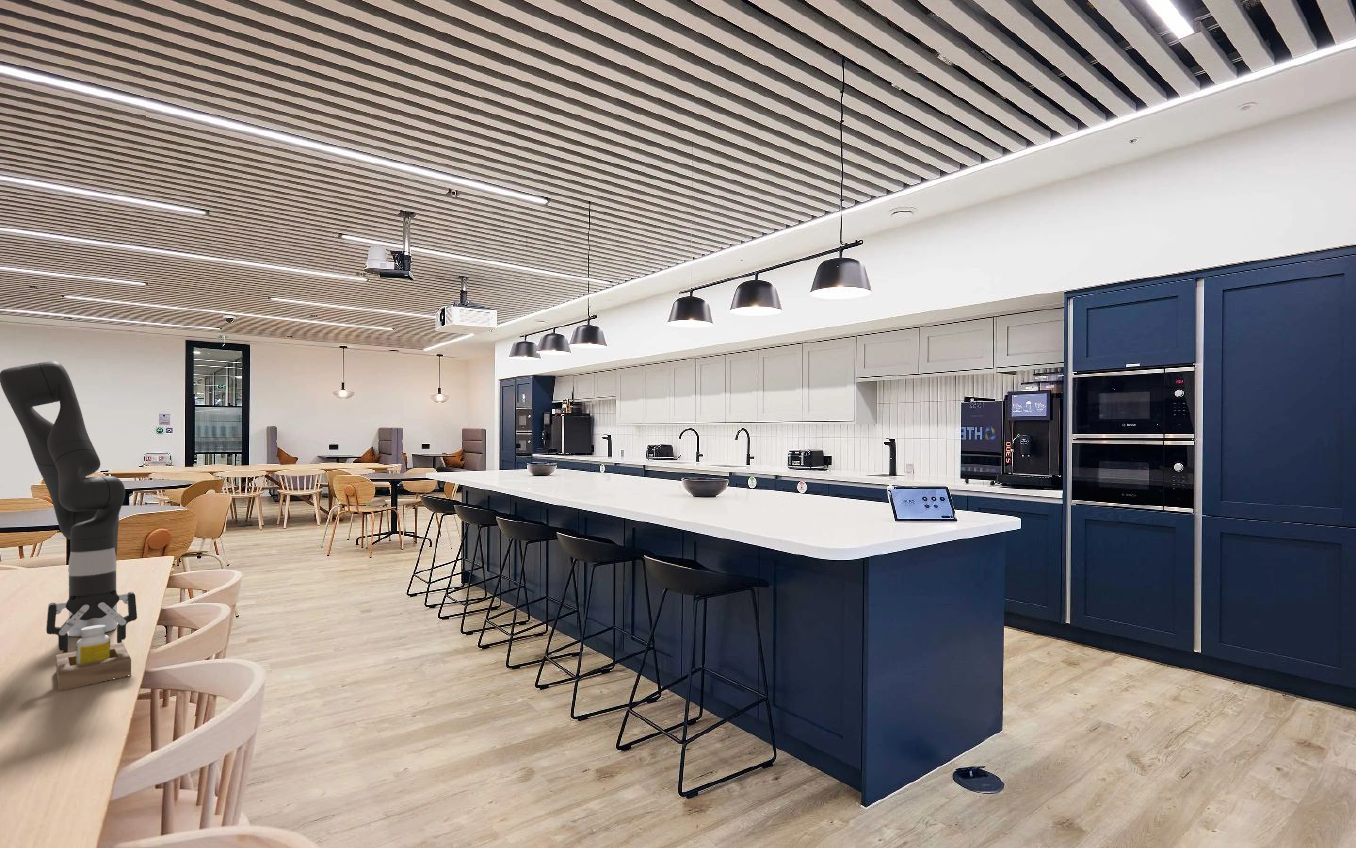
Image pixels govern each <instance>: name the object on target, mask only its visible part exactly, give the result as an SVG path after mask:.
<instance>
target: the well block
mask: <svg viewBox="0 0 1356 848" xmlns="http://www.w3.org/2000/svg"><path fill="white" fill-rule="evenodd" d="M55 671H56V672H55V673H56V679H57V687H58V692H62V691H67V690H71V689H76V688H80V687H85V685H86V686H89V684H91V685H94V684H98V683H97V682H100V683H102V682H101V681H105V682H107V681H106V680H110V679H113V678H119V679H122V678H121V677H124V678H126V677H125V676H128V675H131V676H132V658H131V656H130V654H129V652H128V650H127V648H126V646H125V644H124V642H122V643H115V644H110V658H108V659H103V660H98V661H93V662H88V663H83V664H77V665H76V650H75V651H71V652H67V653H60V654H56V655H55ZM128 677H129V676H128ZM110 681H111V680H110Z"/></svg>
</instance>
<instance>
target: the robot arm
mask: <svg viewBox="0 0 1356 848" xmlns="http://www.w3.org/2000/svg"><path fill="white" fill-rule="evenodd" d="M0 386H1V389H2V391H3V394H4V395H5V397H6V400H7V402H8V403H9V405H10V407H11V409H12V410H13V412H14V415H15V417H16V419H17V421H18V423H19V424H20V427H21V428H22V431H23V433H24V435H25V438H26V440H27V443H28V445H29V448H30V451H31V454H32V457H33V460H34V462H35V464H36V467H37V468H38V471H39V473H40V475H41V477H42V479H43V481H44V484H45V487H46V489H47V491H48V493H49V496H50V499H51V502H52V505H53V509H54V513H55V516H56V520H57V524H58V527H59V530H60V532H61V534H62V535H63V537H64V538H66V539H67V540H70V542H69V543H70V545H69V546H70V549H69V550H70V554H69V559H68V568H67V570H68V599H67V601H66V602H61V603H55V602H50V603H49V604H48V605H47V616H46V629H45V631H46V634H47V635H56V636H57V637H58V638H57V639H58V642H57V645H58V646H57V647H58V650H59V651H60V652H62V654H64V653H69V637H82V636H81V629H82V628H85V627H89V626H94V625H106V632H105V633H108V632H111V631H114V630H115V629H116V644H119V643H123V640H126V638H127V624H129V623H130V622H132V621H136V620H137V619H138V612H137V601H136V594H135V593H134V591H129V592H127V593H124V594H118V591H117V554H118V537H119V527H120V526H119V524H120V523H119V522H120V516H119V515H120V512H121V508H122V507H123V504H124V501H125V497H126V487H125V485H124V483H123V482H122V480H121V479H120V478H118V477H117V476H112V475H111V476H110V475H108V476H107V475H106V476H91V475H93V474H94V473H96V472H97V471H98V470H99V469H100V467H101V460H100V457H99V455H98V453H97V451H96V448H95V447H94V445H93V442H92V441H91V439H90V436H89V434H88V431H87V428H86V425H85V421H84V418H83V414H82V410H81V406H80V403H79V400H78V398H77V397H78V396H77V394H76V391H75V388H74V384H73V382H72V380H71V378H70V375H69V374H68V371H67V370H66V368H65V367H64V365H63V364H61V363H60V362H58V361H52V360H49V361H43V362H36V363H35V362H34V363H30V364H24V365H19V366H14V367H9V368H5V369H2V370H0ZM57 402H59V411H58V414H57V416H56V419H55V421H54V423H53V422H51V421H49V420H48V419H46V418H45V417H44V416H42V415H41V414H40V413H39V412H37V411H36V410H35V407H39V406H42V405H48V404H53V403H57ZM90 476H91V477H90ZM120 601H122V602H123V604H125V605H127V610H128V611H127V612H128V614H127V615H125V616H122V615H121V613H119V612H118V602H120ZM64 609H66V610H67V611H68V618H67V619H66V620H65V622H64V623H63V624H62V625H61V626H56V621H57V620H56V619H57V615H60V614H61V613H62V611H63V610H64Z"/></svg>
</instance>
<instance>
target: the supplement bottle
mask: <svg viewBox="0 0 1356 848" xmlns="http://www.w3.org/2000/svg"><path fill="white" fill-rule="evenodd" d="M106 633H107V632H106V625H94V626H89V627H85V628H82V629H81V636H80V637H81V638H80V639H78V640H77V641H76V643H75V651H76V665H77V664H83V663H88V662H93V661H98V660H103V659H108V658H110V645H111V637H110V636H109V635H107V634H106Z"/></svg>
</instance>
